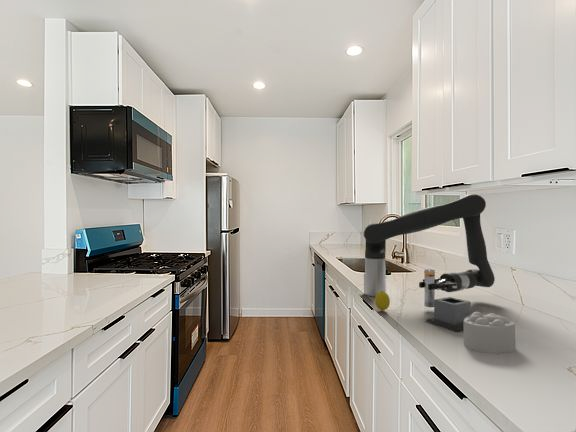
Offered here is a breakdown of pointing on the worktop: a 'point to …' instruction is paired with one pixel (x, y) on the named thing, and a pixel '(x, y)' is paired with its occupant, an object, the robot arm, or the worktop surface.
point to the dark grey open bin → (450, 313)
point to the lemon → (382, 300)
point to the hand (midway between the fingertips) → (424, 286)
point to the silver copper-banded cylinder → (428, 294)
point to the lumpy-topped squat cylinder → (489, 333)
